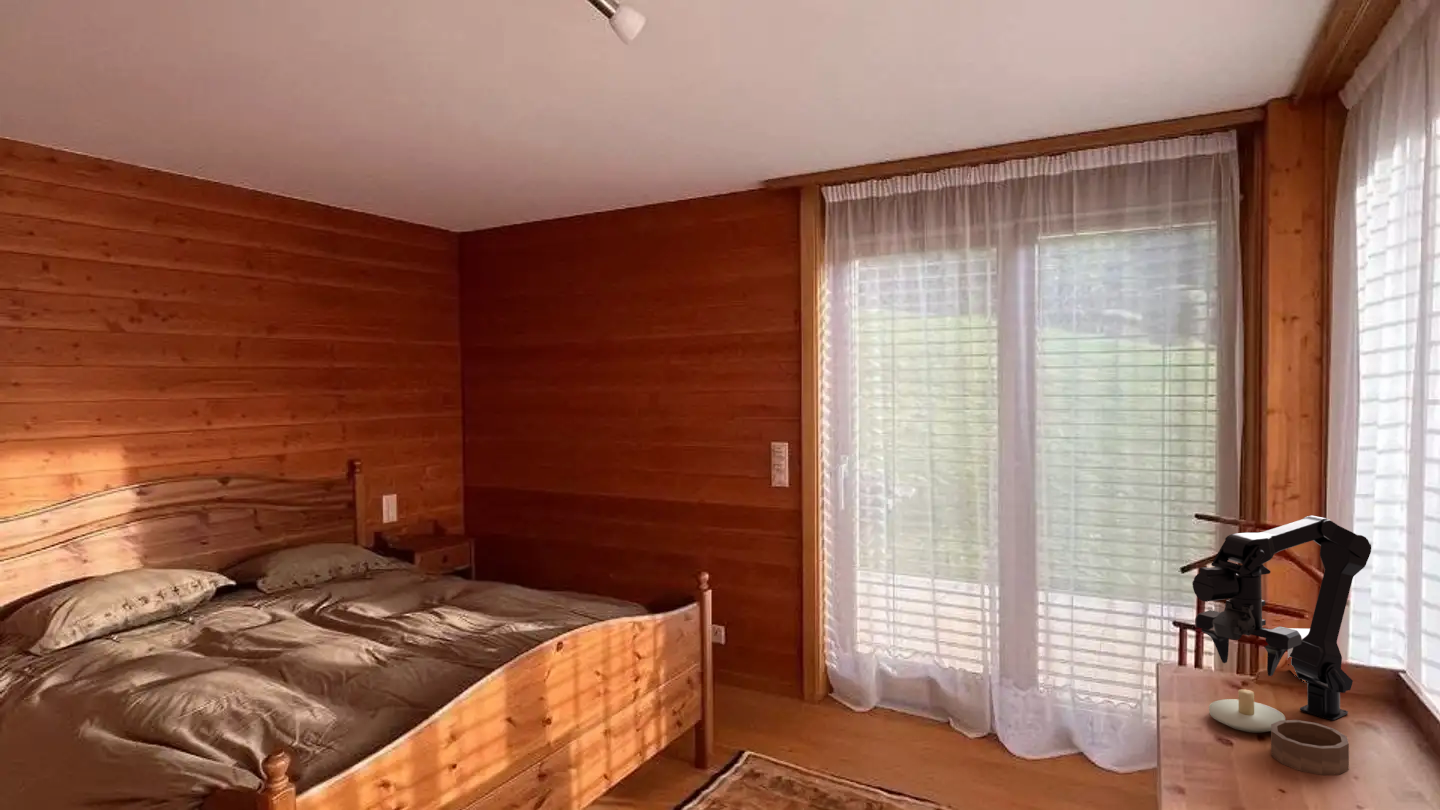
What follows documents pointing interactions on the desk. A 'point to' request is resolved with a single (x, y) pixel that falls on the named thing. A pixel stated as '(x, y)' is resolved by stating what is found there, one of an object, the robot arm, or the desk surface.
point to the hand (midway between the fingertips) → (1247, 669)
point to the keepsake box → (1310, 747)
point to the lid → (1245, 713)
